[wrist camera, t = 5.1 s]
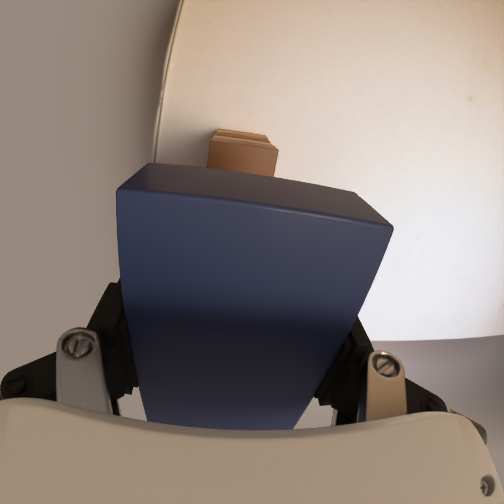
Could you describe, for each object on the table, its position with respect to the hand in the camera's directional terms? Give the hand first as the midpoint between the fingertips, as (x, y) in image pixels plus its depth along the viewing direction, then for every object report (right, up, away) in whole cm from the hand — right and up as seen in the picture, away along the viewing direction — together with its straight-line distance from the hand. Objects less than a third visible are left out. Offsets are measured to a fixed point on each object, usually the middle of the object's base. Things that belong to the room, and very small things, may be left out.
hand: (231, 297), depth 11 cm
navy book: (0, 0, -1) cm, 1 cm away
